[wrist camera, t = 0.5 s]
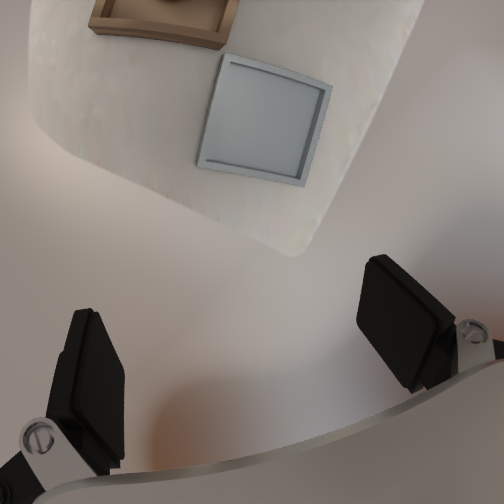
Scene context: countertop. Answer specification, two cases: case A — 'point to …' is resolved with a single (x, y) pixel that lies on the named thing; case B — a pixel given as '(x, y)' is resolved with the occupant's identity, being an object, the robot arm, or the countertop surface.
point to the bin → (166, 20)
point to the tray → (263, 121)
